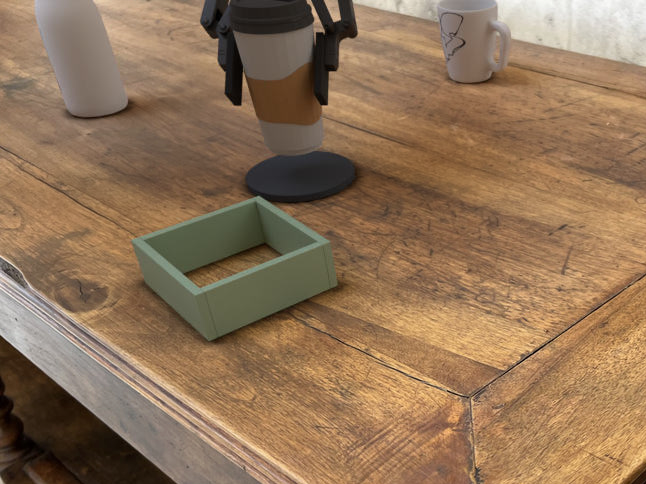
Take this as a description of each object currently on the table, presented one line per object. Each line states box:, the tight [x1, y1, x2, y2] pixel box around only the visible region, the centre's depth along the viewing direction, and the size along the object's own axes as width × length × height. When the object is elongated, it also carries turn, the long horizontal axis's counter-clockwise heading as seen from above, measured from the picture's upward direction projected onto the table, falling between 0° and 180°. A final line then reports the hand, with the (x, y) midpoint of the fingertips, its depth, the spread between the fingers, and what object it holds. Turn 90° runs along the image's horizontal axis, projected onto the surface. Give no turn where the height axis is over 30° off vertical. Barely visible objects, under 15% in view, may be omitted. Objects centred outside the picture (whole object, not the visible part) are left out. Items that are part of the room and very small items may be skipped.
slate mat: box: [245, 150, 356, 203], centre depth 90 cm, size 12×12×1 cm
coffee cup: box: [228, 0, 325, 156], centre depth 83 cm, size 8×8×15 cm
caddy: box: [130, 196, 339, 342], centre depth 71 cm, size 13×13×4 cm
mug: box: [436, 0, 512, 84], centre depth 113 cm, size 11×8×10 cm
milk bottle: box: [34, 0, 129, 118], centre depth 102 cm, size 8×8×20 cm
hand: (277, 99), depth 81 cm, fingers closed on coffee cup, 8 cm apart
